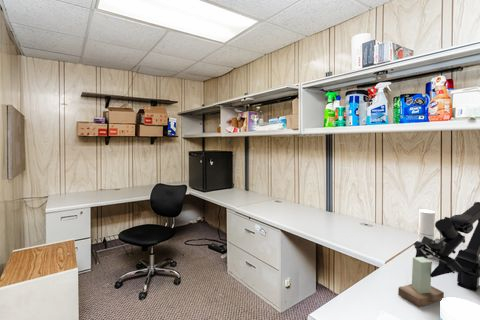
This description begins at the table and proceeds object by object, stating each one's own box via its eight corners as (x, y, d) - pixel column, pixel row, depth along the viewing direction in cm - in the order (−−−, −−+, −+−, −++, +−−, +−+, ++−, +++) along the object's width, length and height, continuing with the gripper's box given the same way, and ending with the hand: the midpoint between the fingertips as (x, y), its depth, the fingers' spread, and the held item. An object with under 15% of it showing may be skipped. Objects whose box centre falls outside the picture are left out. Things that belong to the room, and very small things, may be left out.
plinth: (421, 287, 115) (421, 281, 115) (443, 299, 106) (443, 292, 106) (398, 294, 110) (398, 287, 110) (419, 307, 102) (419, 299, 101)
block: (421, 286, 110) (423, 256, 109) (430, 292, 106) (431, 261, 105) (411, 287, 110) (412, 257, 109) (419, 293, 106) (421, 262, 104)
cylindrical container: (427, 258, 142) (429, 213, 140) (414, 253, 148) (416, 210, 146) (435, 256, 145) (438, 212, 143) (422, 251, 151) (424, 208, 149)
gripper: (418, 223, 116) (394, 248, 116) (456, 239, 97) (427, 269, 97) (434, 239, 117) (410, 264, 117) (474, 258, 98) (446, 288, 98)
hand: (421, 270), depth 107 cm, fingers open, 9 cm apart
